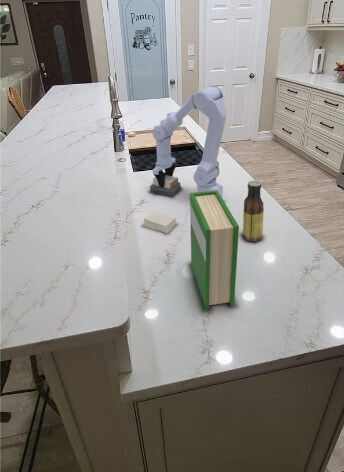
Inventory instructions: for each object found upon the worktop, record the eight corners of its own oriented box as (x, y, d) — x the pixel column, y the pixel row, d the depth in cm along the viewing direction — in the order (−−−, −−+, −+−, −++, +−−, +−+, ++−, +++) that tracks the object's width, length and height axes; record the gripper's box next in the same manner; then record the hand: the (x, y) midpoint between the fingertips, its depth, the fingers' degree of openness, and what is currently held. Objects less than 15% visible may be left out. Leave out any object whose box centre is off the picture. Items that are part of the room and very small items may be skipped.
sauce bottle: (263, 233, 110) (269, 180, 101) (259, 244, 105) (265, 189, 96) (244, 229, 112) (248, 177, 103) (239, 239, 107) (243, 185, 98)
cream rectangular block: (176, 224, 117) (176, 217, 115) (167, 233, 112) (166, 226, 111) (153, 218, 121) (152, 211, 120) (143, 226, 117) (142, 219, 115)
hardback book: (234, 305, 83) (239, 226, 72) (205, 309, 82) (206, 230, 71) (215, 261, 99) (217, 190, 87) (191, 264, 98) (190, 193, 87)
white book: (178, 183, 139) (178, 177, 138) (171, 189, 135) (171, 182, 134) (160, 179, 143) (159, 173, 142) (153, 185, 139) (152, 178, 138)
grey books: (182, 189, 141) (181, 182, 140) (172, 197, 135) (171, 191, 134) (160, 184, 147) (159, 178, 145) (149, 192, 140) (148, 185, 139)
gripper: (164, 146, 140) (166, 175, 146) (145, 158, 129) (148, 188, 135) (179, 148, 137) (180, 178, 143) (160, 160, 126) (162, 192, 132)
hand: (165, 183), depth 139 cm, fingers closed on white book, 5 cm apart
